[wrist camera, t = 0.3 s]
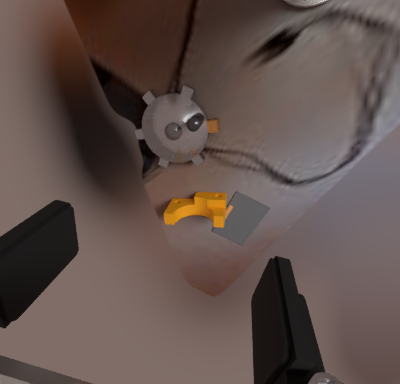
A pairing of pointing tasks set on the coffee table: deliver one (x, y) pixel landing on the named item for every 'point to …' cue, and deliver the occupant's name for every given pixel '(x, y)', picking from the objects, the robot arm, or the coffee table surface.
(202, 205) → the pipe clamp
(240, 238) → the mat
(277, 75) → the coffee table surface
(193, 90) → the sprocket
